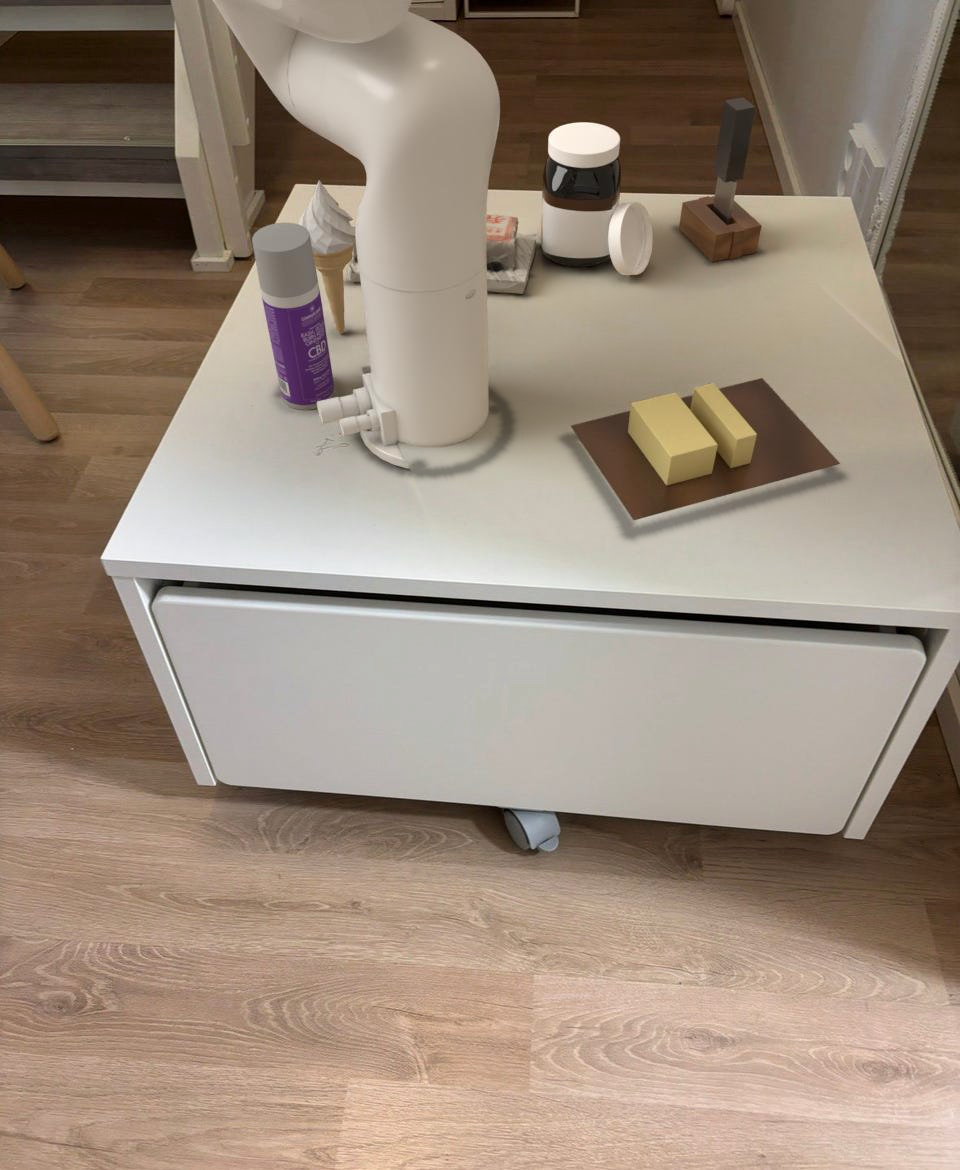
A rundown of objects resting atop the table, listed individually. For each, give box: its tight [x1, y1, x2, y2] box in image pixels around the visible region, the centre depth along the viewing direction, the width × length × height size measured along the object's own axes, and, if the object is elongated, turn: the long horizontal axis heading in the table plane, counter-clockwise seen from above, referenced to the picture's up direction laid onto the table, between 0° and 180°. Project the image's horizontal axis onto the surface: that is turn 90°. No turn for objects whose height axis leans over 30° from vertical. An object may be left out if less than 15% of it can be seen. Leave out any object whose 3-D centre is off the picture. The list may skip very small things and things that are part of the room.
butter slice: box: [690, 382, 757, 468], centre depth 82 cm, size 2×7×3 cm, turn 20°
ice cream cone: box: [296, 179, 356, 335], centre depth 91 cm, size 6×6×15 cm
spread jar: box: [540, 121, 654, 276], centre depth 101 cm, size 12×11×12 cm
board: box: [570, 377, 841, 521], centre depth 83 cm, size 18×12×2 cm, turn 110°
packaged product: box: [346, 213, 538, 295], centre depth 103 cm, size 18×5×10 cm
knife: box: [712, 97, 756, 225], centre depth 101 cm, size 2×3×14 cm, turn 20°
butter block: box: [628, 391, 718, 485], centre depth 81 cm, size 4×7×3 cm, turn 20°
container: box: [251, 222, 336, 411], centre depth 85 cm, size 5×5×15 cm
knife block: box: [678, 195, 763, 263], centre depth 106 cm, size 5×8×3 cm
